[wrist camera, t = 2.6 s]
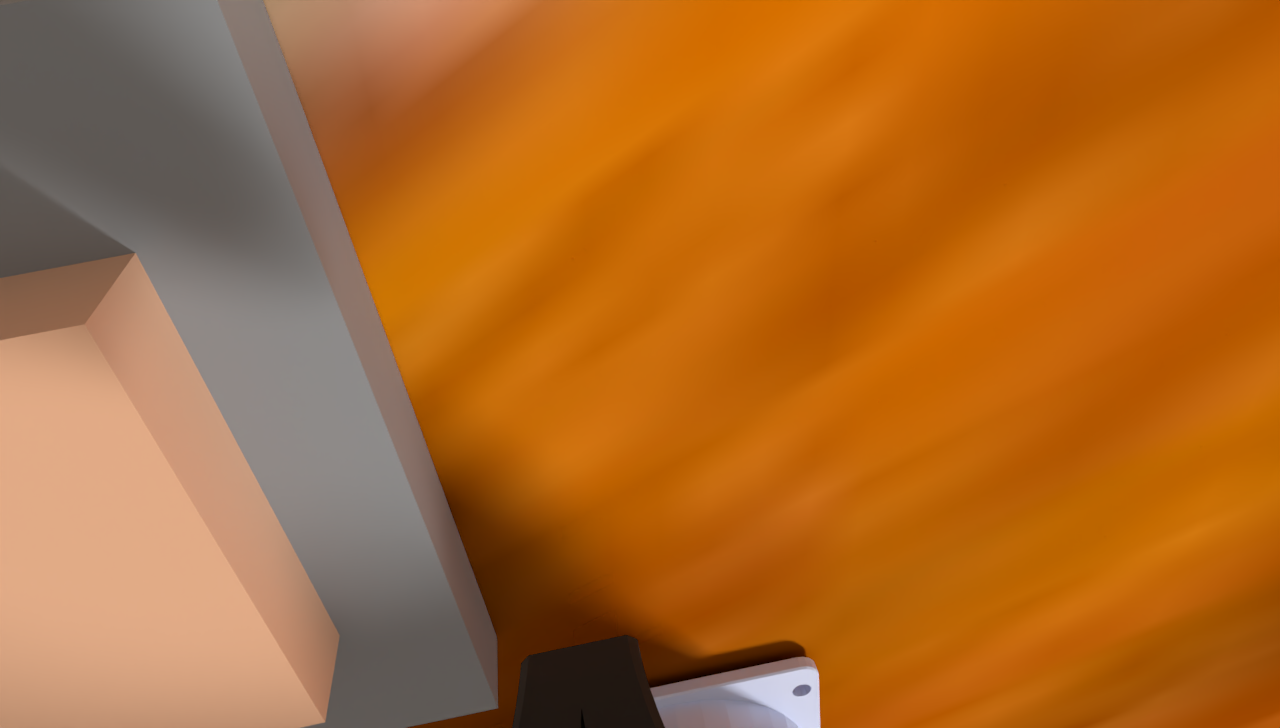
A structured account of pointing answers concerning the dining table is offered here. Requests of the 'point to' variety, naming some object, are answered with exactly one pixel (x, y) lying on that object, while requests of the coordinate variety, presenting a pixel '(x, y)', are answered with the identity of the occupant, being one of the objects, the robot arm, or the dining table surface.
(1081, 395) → the dining table surface
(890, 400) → the dining table surface
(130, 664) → the tile
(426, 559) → the riser
